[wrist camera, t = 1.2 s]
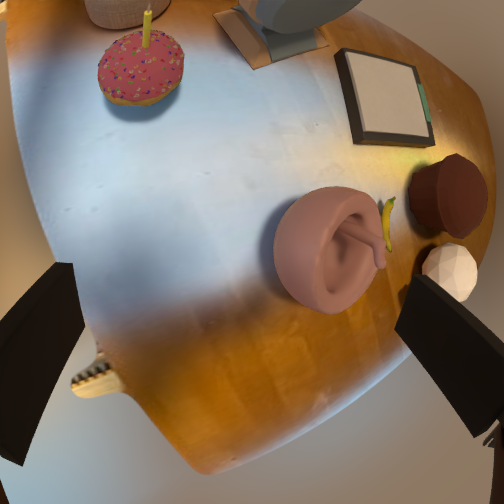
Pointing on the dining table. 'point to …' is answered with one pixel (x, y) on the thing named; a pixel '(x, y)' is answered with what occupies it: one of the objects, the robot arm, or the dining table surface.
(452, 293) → the white geodesic ball
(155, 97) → the cupcake
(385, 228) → the fruit
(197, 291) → the dining table surface
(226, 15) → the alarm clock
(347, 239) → the mortar and pestle
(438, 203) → the muffin
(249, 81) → the dining table surface
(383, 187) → the dining table surface
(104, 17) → the planter
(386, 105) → the scale
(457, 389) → the robot arm
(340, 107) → the dining table surface
